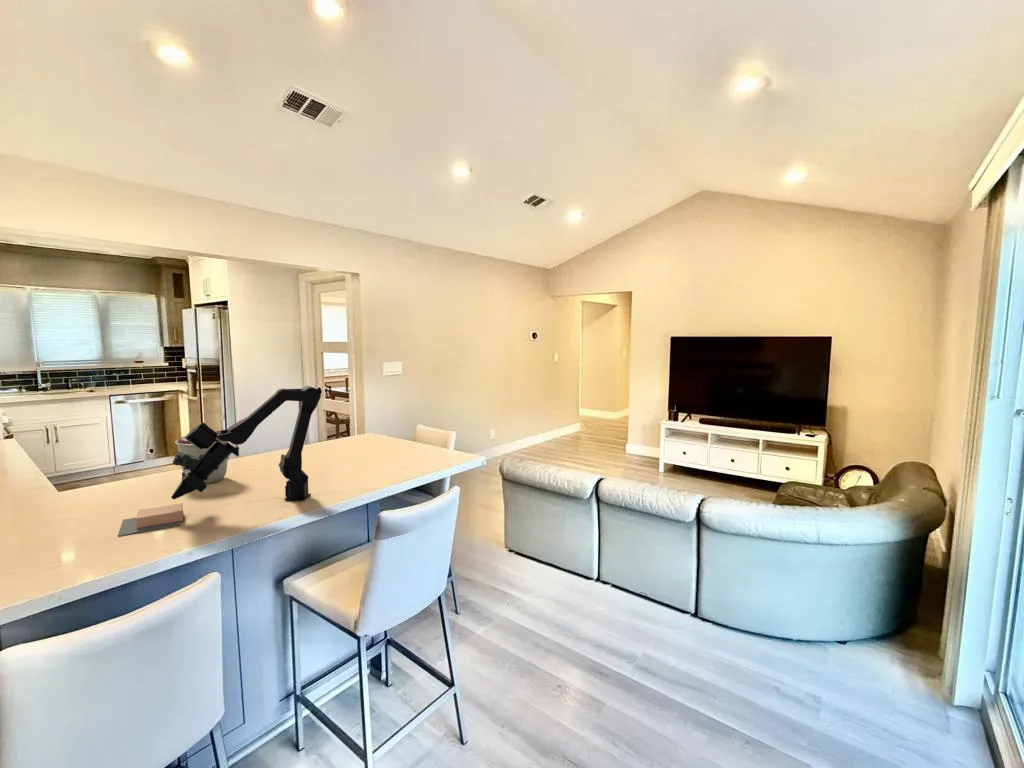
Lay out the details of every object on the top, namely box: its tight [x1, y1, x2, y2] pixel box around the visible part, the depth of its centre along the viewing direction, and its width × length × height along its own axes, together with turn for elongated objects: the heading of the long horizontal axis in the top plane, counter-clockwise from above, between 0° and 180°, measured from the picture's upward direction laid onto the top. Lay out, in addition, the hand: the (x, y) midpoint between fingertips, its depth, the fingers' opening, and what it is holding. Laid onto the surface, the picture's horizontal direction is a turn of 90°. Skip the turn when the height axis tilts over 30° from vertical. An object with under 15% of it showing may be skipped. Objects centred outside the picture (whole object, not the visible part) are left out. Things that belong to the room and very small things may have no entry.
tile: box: [135, 502, 184, 528], centre depth 143 cm, size 3×8×11 cm
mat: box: [117, 517, 180, 537], centre depth 141 cm, size 14×14×1 cm
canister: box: [174, 435, 230, 485], centre depth 182 cm, size 18×18×21 cm
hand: (172, 498), depth 144 cm, fingers closed
